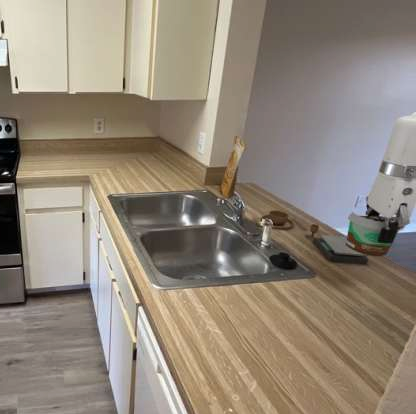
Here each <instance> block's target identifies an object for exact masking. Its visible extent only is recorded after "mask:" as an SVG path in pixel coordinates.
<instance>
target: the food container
mask: <svg viewBox="0 0 416 414" xmlns="http://www.w3.org/2000/svg"><path fill="white" fill-rule="evenodd" d="M347 220H348V221H349V222H348V223H349V224H348V230H347V235H346V237H347V240H346V246H347V247H349V248H350V249H352V250H354V251H356V252H359V253H362V254H365V255H368V256H372V257H383V256H386V255H387V254H388V253H389V251H390V249H391V247H392V245H393V243H391V244H390V243H379V242H378V241H377V240H378V237H379V234H380V232H381V229H382V228H384V226H385V217H384V216H383V215H379V216H368V215H358V214H356V213H355V212H353V211H351V213H350V214H349V215H348V217H347ZM393 222H395V219H391V222H390V224H391V223H393ZM405 227H406V226H404V227H403V228H400V230H398V231H397V233H396V236H395V239H396V237H397V235H398V234H399V232H400V231H402V230H404V229H405Z"/></svg>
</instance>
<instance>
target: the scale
mask: <svg viewBox="0 0 416 414" xmlns="http://www.w3.org/2000/svg"><path fill="white" fill-rule="evenodd" d="M312 242H313V244H314V245H315V246H316V247H317V249H318V250H319V251H320V253H322V255H323V256H324V257H325V258H326V259H327V261H328V262H331V263H344V264H355V265H364V266H365V265H367V264H368V262H369V258H368V257H367V256H355V255H343V254H335V253H334V252H333V251H332V250H331V248H330V247H329V246H328V245H327V244H326V243H325V242H324V241H323V240H322V239H321V237H313V241H312Z"/></svg>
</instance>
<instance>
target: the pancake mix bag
mask: <svg viewBox="0 0 416 414" xmlns="http://www.w3.org/2000/svg"><path fill="white" fill-rule="evenodd" d="M246 149H247V144H246V142H245V141H243V139H242V138H241V137H239V136H238V135H235V136H234V142H233V146H232V150H231V153H230V157H229V159H228V162H227V165H226V168H225V171H224V172H225V173H224V175H223V178H222V182H221V185H220V190H221V195H222V197H226V199H229V198H231V197H233V196H234V193H235V189H236V183H237V168H238V165H239V163H240V161H241V158H242V156H243V154H244V153H245V151H246Z"/></svg>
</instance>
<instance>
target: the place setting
mask: <svg viewBox="0 0 416 414" xmlns="http://www.w3.org/2000/svg"><path fill="white" fill-rule="evenodd" d="M264 218H267V219H268V218H269V219H271V220H272V222H273V224H272V225H273V226H274V228H273V229H274V230H281V231H282V230H283V231H284V230H290V229H293V227H294V225H295V223H294V221H293V220H292V219H290V218H289V213H286V212H285V211H282V210H270V211H269V212H268V214H265V215H262V216H261V217H260V221H261V220H262V219H264ZM269 219H268V220H269ZM264 220H265V219H264ZM254 222H255V223H256V225H257V226H258V227H260V228H261V226H260V224H261V223H260V222H259V221H257V220H256V219H254ZM286 223H288V225H289V226H282V225H284V224H286ZM319 228H320V226H319V225H318V224H316V223H313V224H311V225H310V228H309V232H310V233H311V234H310V237H309V239H310V240H314V238H315V234H317V233H318V231H319ZM304 231H307V229H305V228H304Z"/></svg>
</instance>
